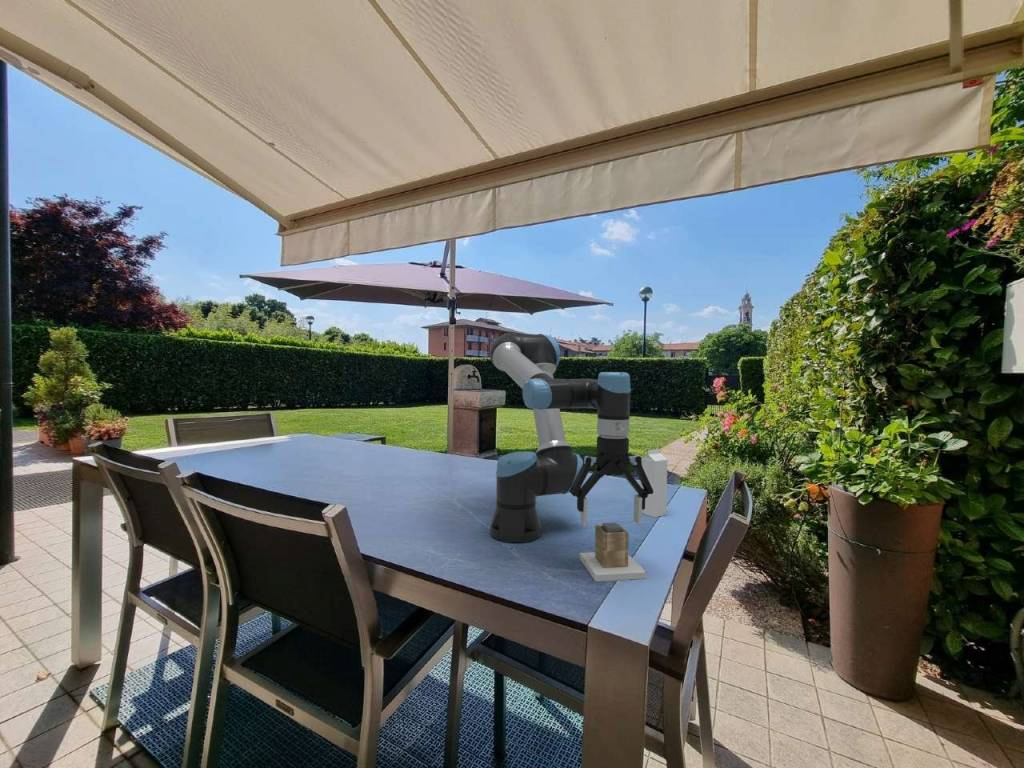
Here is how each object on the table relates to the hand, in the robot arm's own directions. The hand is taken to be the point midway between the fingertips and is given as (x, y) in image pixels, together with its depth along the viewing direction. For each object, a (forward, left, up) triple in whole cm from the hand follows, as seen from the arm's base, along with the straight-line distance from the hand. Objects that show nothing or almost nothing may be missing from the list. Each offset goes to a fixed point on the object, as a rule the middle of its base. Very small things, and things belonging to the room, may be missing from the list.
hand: (610, 523), depth 101 cm
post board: (0, 0, -11) cm, 11 cm away
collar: (0, 0, -9) cm, 9 cm away
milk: (+15, +45, -11) cm, 48 cm away
